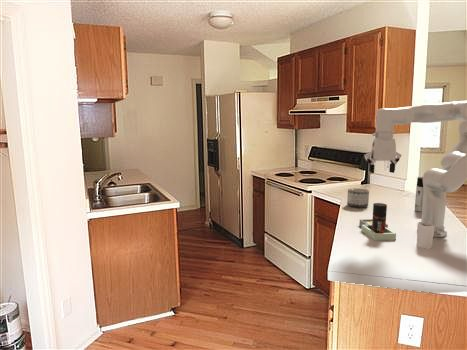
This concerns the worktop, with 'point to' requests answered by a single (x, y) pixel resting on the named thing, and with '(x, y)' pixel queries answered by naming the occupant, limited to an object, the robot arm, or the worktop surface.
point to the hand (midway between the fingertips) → (381, 172)
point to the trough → (379, 236)
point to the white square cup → (425, 234)
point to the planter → (358, 197)
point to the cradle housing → (362, 222)
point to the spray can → (419, 195)
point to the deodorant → (379, 217)
